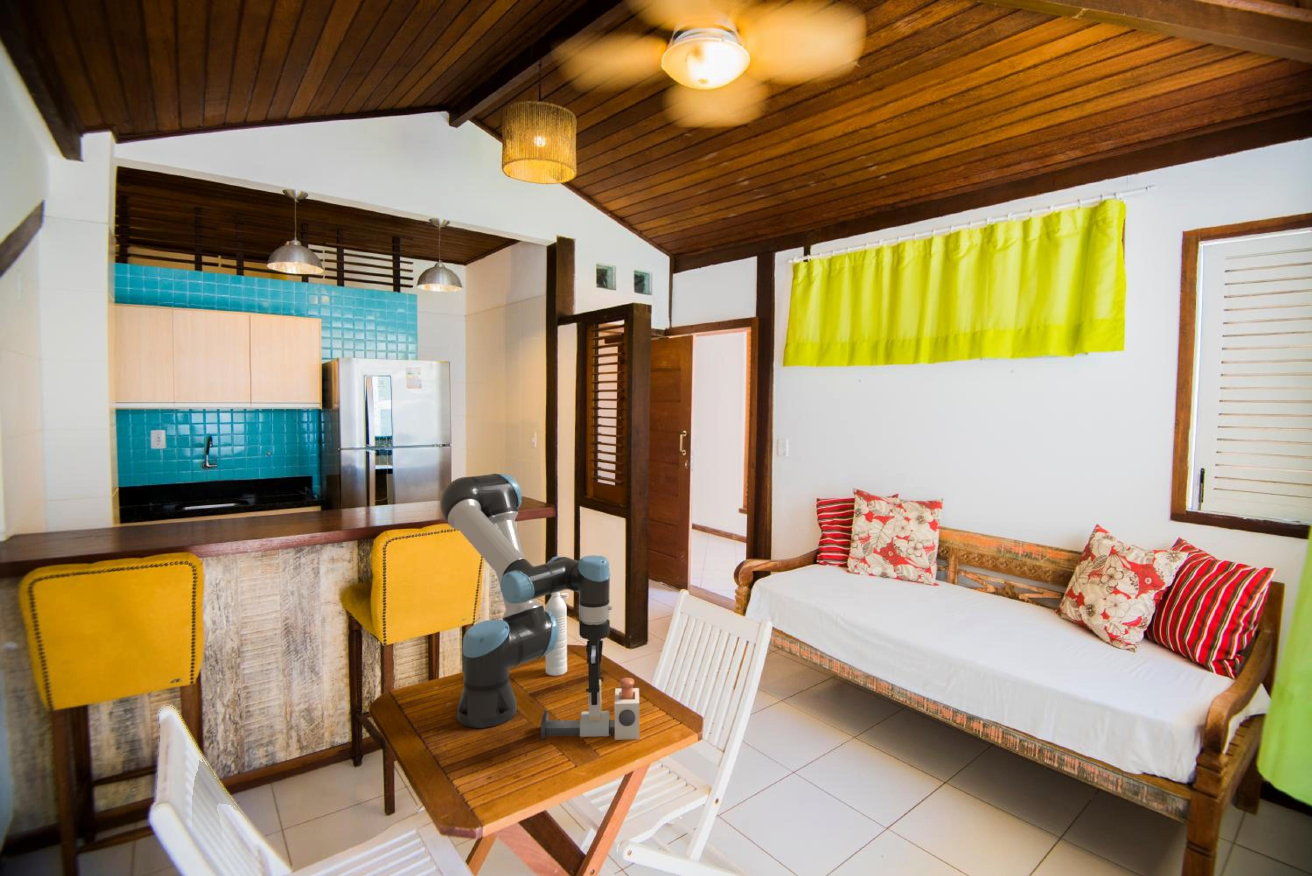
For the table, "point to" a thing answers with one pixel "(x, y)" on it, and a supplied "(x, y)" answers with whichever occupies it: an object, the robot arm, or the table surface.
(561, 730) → the rail
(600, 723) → the carriage
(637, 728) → the grey box housing
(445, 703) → the table surface
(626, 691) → the button
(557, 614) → the water bottle
